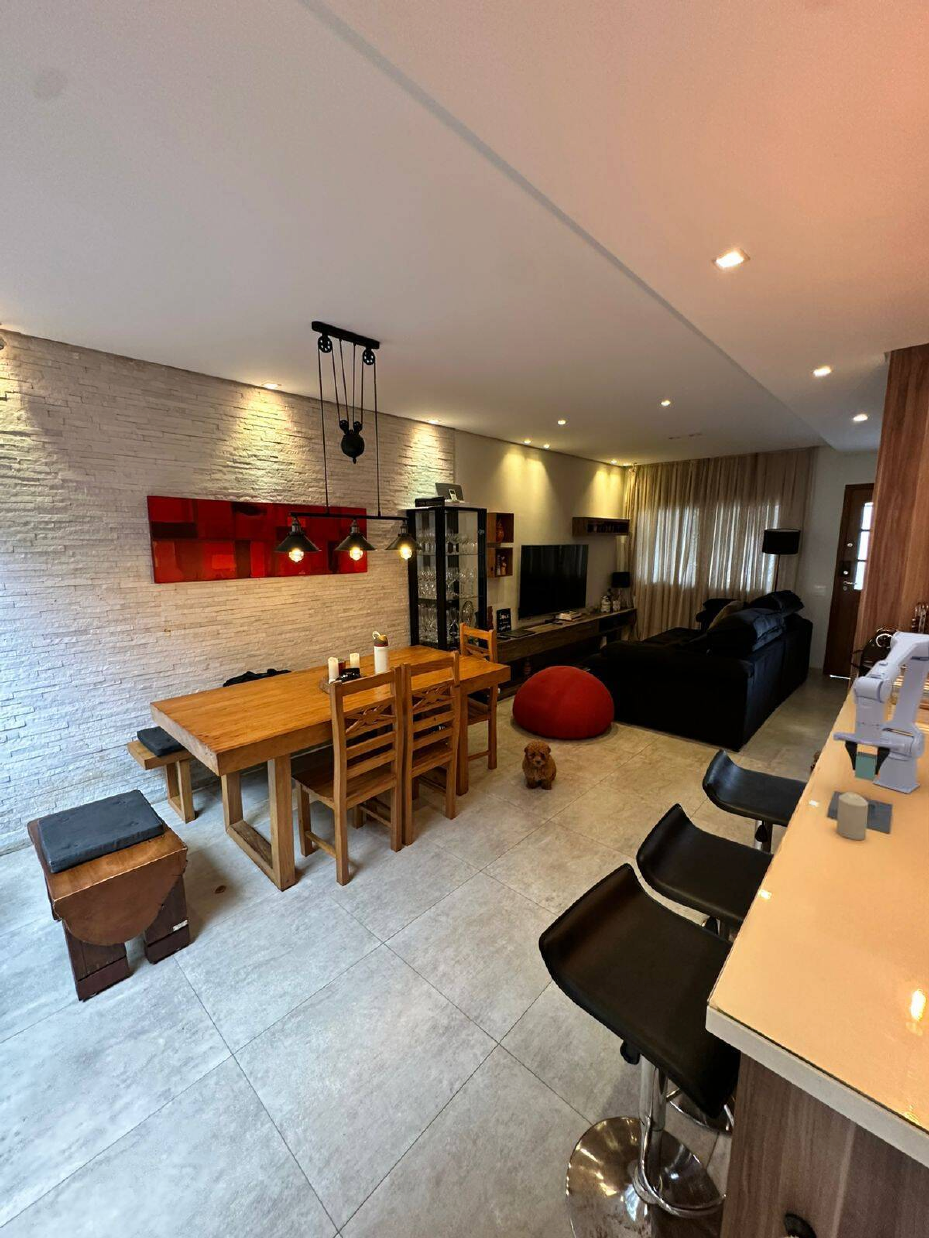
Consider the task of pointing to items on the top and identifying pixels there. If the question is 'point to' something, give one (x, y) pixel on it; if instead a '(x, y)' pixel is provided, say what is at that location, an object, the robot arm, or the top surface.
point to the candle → (852, 816)
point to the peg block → (865, 766)
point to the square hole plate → (876, 814)
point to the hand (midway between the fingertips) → (865, 771)
